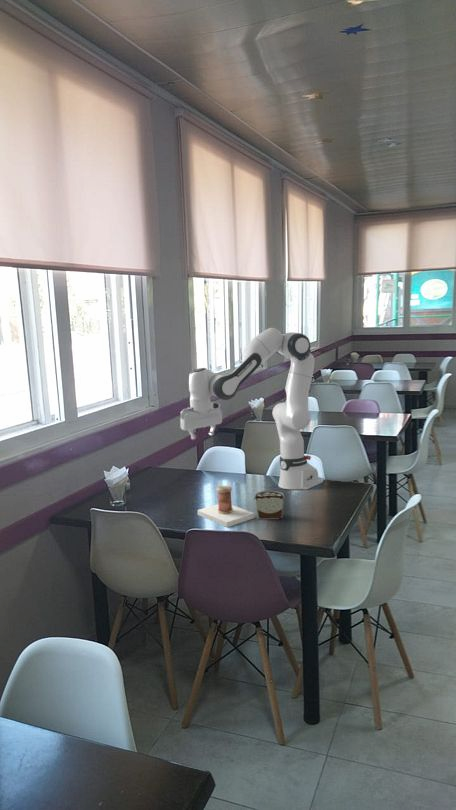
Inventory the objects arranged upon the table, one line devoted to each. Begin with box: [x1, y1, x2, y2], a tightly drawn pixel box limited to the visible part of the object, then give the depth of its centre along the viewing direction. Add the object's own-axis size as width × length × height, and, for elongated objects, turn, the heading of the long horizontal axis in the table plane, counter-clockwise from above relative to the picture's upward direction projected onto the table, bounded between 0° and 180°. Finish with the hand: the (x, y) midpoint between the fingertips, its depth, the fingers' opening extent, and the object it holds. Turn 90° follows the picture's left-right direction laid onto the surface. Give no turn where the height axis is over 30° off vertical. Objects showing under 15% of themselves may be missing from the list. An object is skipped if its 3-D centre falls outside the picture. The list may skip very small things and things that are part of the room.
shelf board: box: [197, 503, 255, 528], centre depth 232 cm, size 14×20×2 cm
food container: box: [253, 490, 286, 520], centre depth 229 cm, size 12×6×10 cm, turn 84°
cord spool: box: [216, 485, 233, 514], centre depth 231 cm, size 6×6×10 cm
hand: (202, 437), depth 249 cm, fingers open, 8 cm apart
